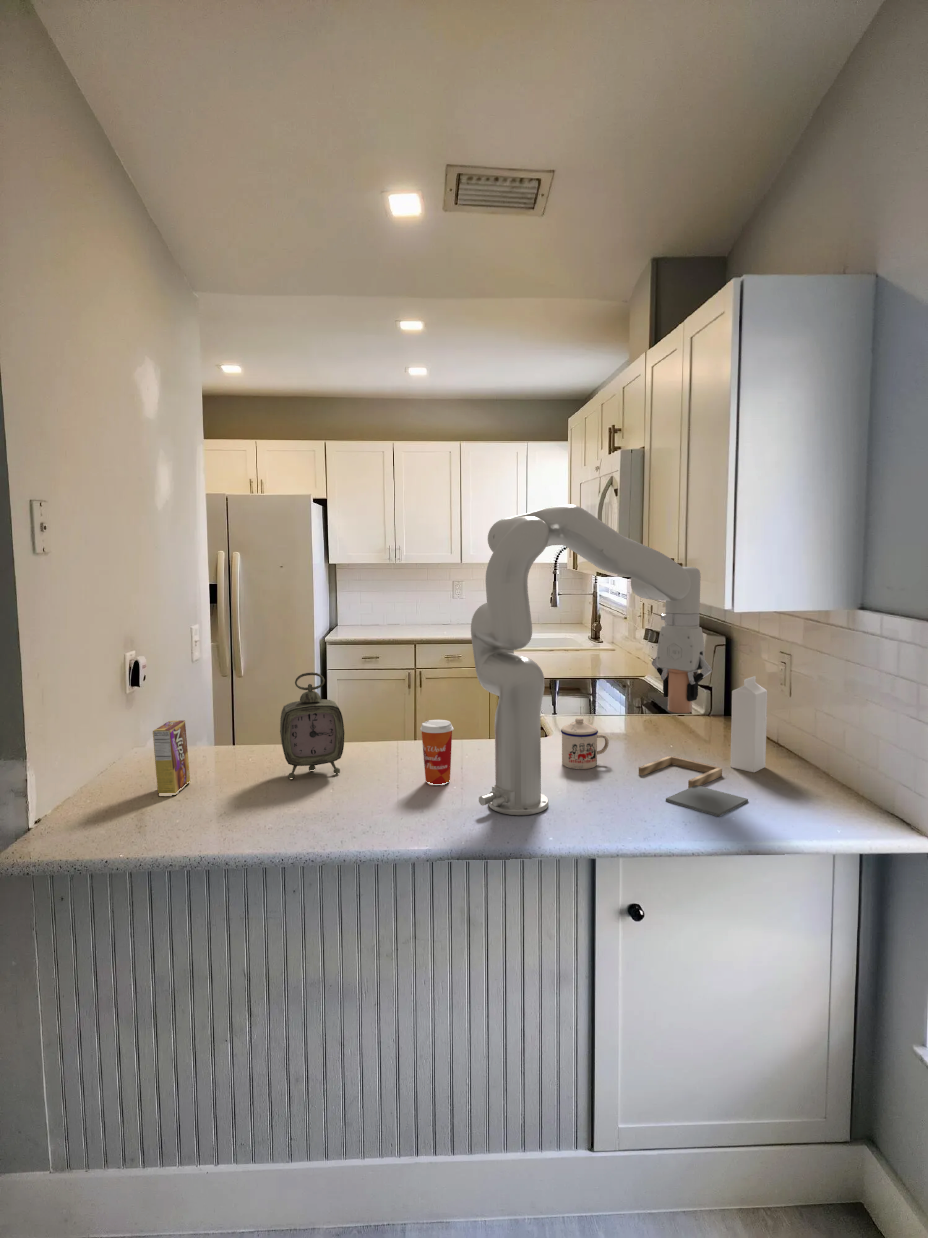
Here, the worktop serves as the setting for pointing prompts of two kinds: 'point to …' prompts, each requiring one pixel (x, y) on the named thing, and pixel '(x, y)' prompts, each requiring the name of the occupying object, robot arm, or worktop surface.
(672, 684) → the jug
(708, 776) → the bent wooden rod
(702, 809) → the mat
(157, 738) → the candy box
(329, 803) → the worktop surface
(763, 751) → the milk
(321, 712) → the tabletop clock
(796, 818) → the worktop surface
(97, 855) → the worktop surface
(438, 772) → the paper cup
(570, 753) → the teacup with lid
